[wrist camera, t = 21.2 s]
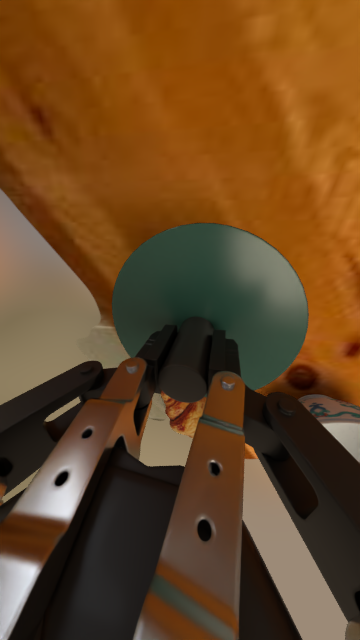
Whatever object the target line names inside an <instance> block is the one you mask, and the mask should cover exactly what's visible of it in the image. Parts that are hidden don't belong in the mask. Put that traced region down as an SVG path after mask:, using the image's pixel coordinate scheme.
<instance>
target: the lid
mask: <svg viewBox="0 0 360 640" xmlns="http://www.w3.org/2000/svg"><path fill="white" fill-rule="evenodd" d="M112 313H113V320H114V325H115V328H116V331H117V334H118V336H119V339H120V341H121V343H122V345H123V346H124V348H125V350H126V351H127V353H128V354H129V356H130V357H131V358H134V357H135V356H136V355H137V353H138V352H139V351H140V349H141V348H142V346H143V345H144V344H145V342H146V341H147V340H148V338H149V337H150V335H151V334H153V333H154V332H156V331H161V330H162V329H163V327H164V326H165V324H168V325H177V330H178V334H177V336H176V338H175V340H174V342H173V344H172V346H171V348H170V350H169V352H168V355H167V357H166V359H165V361H164V363H163V365H162V367H161V369H160V371H159V373H158V378H157V379H158V384H159V387H160V389H161V390H162V391H163V392H164V393H165V394H166V395H167V396H169V397H170V398H172V399H174V400H176V401H179V402H184V403H193V402H197V401H200V400H201V399H203V398H204V397H206V396H207V391H208V370H209V362H210V354H211V347H212V339H213V331H214V329H216V330H226V339H234V340H235V342H236V343H237V344H238V350H239V351H238V352H239V360H240V370H241V378H242V380H243V381H244V383H245V385H246V386H248V387H249V388H250V389H252V390H253V391H254V390H257V389H259V388H261V387H263V386H265V385H267V384H269V383H270V382H272V381H273V380H275V379H276V378H277V377H279V376H280V375H281V374H282V373H283V372H284V371H285V370H286V369H287V368H288V367H289V366H290V365H291V364H292V362H293V361H294V360H295V358H296V356H297V355H298V353H299V352H300V349H301V347H302V345H303V343H304V340H305V336H306V332H307V328H308V316H309V314H308V303H307V298H306V295H305V291H304V287H303V285H302V283H301V281H300V279H299V277H298V275H297V273H296V271H295V270H294V269H293V267H292V266H291V264H290V263H289V262H288V260H287V259H286V258H285V257H284V256H283V255H282V254H281V253H280V252H279V251H278V250H277V249H276V248H274V247H273V246H271V245H270V244H269V243H267V242H266V241H265V240H263V239H261V238H259V237H258V236H256V235H254V234H252V233H250V232H248V231H245V230H242V229H239V228H236V227H232V226H228V225H222V224H216V223H194V224H187V225H181V226H178V227H174V228H171V229H167V230H165V231H163V232H161V233H159V234H157V235H155V236H153V237H151V238H150V239H149V240H147V241H146V242H144V243H143V244H141V245H140V246H139V247H138V248H137V249H136V250H135V251H134V252H133V253H132V254H131V256H130V257H129V258H128V259H127V261H126V262H125V263H124V265H123V267H122V269H121V271H120V272H119V275H118V277H117V280H116V283H115V287H114V291H113V298H112Z"/></svg>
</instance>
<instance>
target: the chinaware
mask: <svg viewBox="0 0 360 640" xmlns="http://www.w3.org/2000/svg"><path fill="white" fill-rule="evenodd" d="M298 401H299V402H301V403H302V404H303V405H304V406H305V407H306V409H307V410H308V411H309V412H310V413H311V414H312V415H313V416H314V417H315V418H316V419H317V420H318V421H319V422H320V423H321V424H322V425H323V426H324V427H325V428H326V429H327V430H328V431H329V432H330V433H331V434H332V435H333V436H334V437H335V438H336V439H337V440H338V441H339V442H340V443H341V444H342V445H343V446H344V447H345V448H346V450H347V451H348V452H349V453H350V454H351V455H352V456H353V457H354V458H355V459H356V460H357V461H358V462H359V463H360V407H358V406H356V405H354V404H351V403H348V402H345V401H341V400H337V399H333V398H331V397H328V396H325V395H319V394H313V395H307V396H303V397H301V398H299V399H298Z"/></svg>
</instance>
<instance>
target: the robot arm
mask: <svg viewBox="0 0 360 640" xmlns="http://www.w3.org/2000/svg"><path fill="white" fill-rule="evenodd" d="M177 334H178V330H177V325H168V324H165V326H164V327H163V329H162V330H161V331H156V332H154V333H153V334H151V335H150V337H149V338H148V340H147V341H146V342H145V344H144V345H143V346H142V348H141V349H140V351H139V352H138V353H137V355H136V356H135V357H134V358H129V359H126V360H125V361H123V362H122V363H121V364H120V365H119V366H118V368H108V369H103V367H102V364H101V363H100V362H98V361H87V362H84V363H82V364H80V365H78V366H76V367H74V368H72V369H70V370H68V371H66V372H64V373H63V374H60V375H58V376H56V377H54V378H52V379H50V380H49V381H47V382H45V383H43V384H41V385H39V386H37V387H35V388H33V389H31V390H29V391H27V392H25V393H23V394H21V395H19V396H18V397H15V398H14V399H12V400H10V401H8V402H6V403H4V404H2V405H0V640H302V638H301V636H300V634H299V632H298V630H297V628H296V626H295V624H294V622H293V620H292V618H291V615H290V614H289V611H288V609H287V607H286V605H285V603H284V601H283V599H282V597H281V595H280V593H279V591H278V589H277V587H276V585H275V583H274V581H273V579H272V577H271V575H270V573H269V571H268V569H267V567H266V565H265V563H264V561H263V559H262V557H261V555H260V553H259V551H258V549H257V547H256V545H255V543H254V541H253V539H252V537H251V535H250V532H249V531H248V529H247V527H246V525H245V523H244V521H243V520H242V512H243V483H244V456H245V443H246V444H248V445H250V446H252V447H253V448H254V451H255V453H256V455H257V456H258V458H259V460H260V462H261V464H262V465H263V467H264V469H265V471H266V473H267V474H268V477H269V478H270V480H271V482H272V484H273V486H274V487H275V489H276V491H277V493H278V495H279V497H280V498H281V500H282V502H283V504H284V506H285V508H286V509H287V511H288V513H289V515H290V517H291V519H292V520H293V522H294V524H295V526H296V528H297V530H298V531H299V533H300V535H301V537H302V538H303V541H304V542H305V544H306V546H307V548H308V550H309V551H310V553H311V555H312V557H313V559H314V560H315V562H316V564H317V566H318V568H319V570H320V571H321V573H322V575H323V577H324V579H325V581H326V582H327V584H328V586H329V588H330V590H331V592H332V594H333V595H334V597H335V599H336V601H337V603H338V605H339V606H340V608H341V610H342V612H343V613H344V616H345V617H346V619H347V621H348V624H347V628H346V633H345V640H360V463H359V462H358V461H357V460H356V459H355V458H354V457H353V456H352V455H351V454H350V453H349V452H348V451H347V450H346V448H345V447H344V446H343V445H342V444H341V443H340V442H339V441H338V440H337V439H336V438H335V437H334V436H333V435H332V434H331V433H330V432H329V431H328V430H327V429H326V428H325V427H324V426H323V425H322V424H321V423H320V422H319V421H318V420H317V419H316V418H315V417H314V416H313V415H312V414H311V413H310V412H309V411H308V410H307V409H306V407H305V406H304V405H303V404H302V403H301V402H299V401H298V400H297V399H296V398H294V397H292V396H290V395H288V394H285V393H281V392H273V393H270V394H269V395H268V396H264V395H262V394H260V393H257V392H255V391H253V390H252V389H250V388H249V387H248V386H246V385H245V383H244V381H243V380H242V378H241V370H240V360H239V352H238V351H239V350H238V344H237V343H236V342H235V340H234V339H226V330H216V329H214V331H213V339H212V347H211V354H210V362H209V370H208V391H207V396H206V403H205V406H204V410H203V414H202V416H201V417H200V418H199V420H198V423H197V427H196V430H195V434H194V437H193V441H192V444H191V448H190V451H189V455H188V458H187V462H186V465H185V467H184V466H180V465H179V466H153V467H150V466H146V465H144V464H143V463H142V462H140V461H139V456H140V445H141V440H142V436H143V433H144V429H145V425H146V422H147V419H148V415H149V412H150V409H151V405H152V397H153V394H154V393H159V394H161V391H162V390H161V389H160V387H159V384H158V379H157V378H158V373H159V371H160V369H161V367H162V365H163V363H164V361H165V359H166V357H167V355H168V352H169V350H170V348H171V346H172V344H173V342H174V340H175V338H176V336H177ZM78 396H79V399H80V401H81V402H80V403H79V404H77V405H76V406H74V407H73V408H71V409H70V410H68V411H66V412H65V413H63V414H62V415H60V416H59V417H57V418H56V419H54V420H52V421H49V422H46V421H44V420H45V419H46V418H47V417H48V416H49V415H50V414H51V413H53V412H55V411H56V410H58V409H59V408H61V407H63V406H64V405H66V404H67V403H69V402H70V401H72V400H74V399H75V398H77V397H78ZM40 467H41V468H40ZM39 468H40V469H39ZM38 469H39V471H38V472H37V474H36V475H35V477H34V478H33V479H32V481H31V482H30V484H29V485H28V487H27V488H25V489H24V490H23V491H21V492H20V493H18V494H17V495H15V496H14V497H12V498H11V499H9V500H8V501H7V502H5V503H4V504H3V500H2V497H3V496H5V495H6V494H7V493H8V492H10V491H11V490H12V489H14V488H15V487H16V486H17V485H19V484H20V483H21V482H22V481H24V480H25V479H26V478H27V477H29V476H30V475H31V474H33V473H34V472H35V471H36V470H38Z"/></svg>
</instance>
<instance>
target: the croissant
mask: <svg viewBox="0 0 360 640" xmlns="http://www.w3.org/2000/svg"><path fill="white" fill-rule="evenodd" d="M161 397H162V398H163V400H164V403H165V404H166V410H165V411H166V414H167V416H168V417H169V418H170V426H171V428H172V429H173V430H174V431H176V432H178V433H180V434H184V435H187V436H189V437H191V438H193V437H194V434H195V430H196V427H197V423H198V420H199V418H200V417H201V416H202V414H203V410H204V406H205V403H206V397H204V398H203V399H201V400H200V401H197V402H193V403H184V402H179V401H176V400H174V399H172V398H170V397H169V396H167V395H166V394H165V393H164V392H163V391H161Z"/></svg>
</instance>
